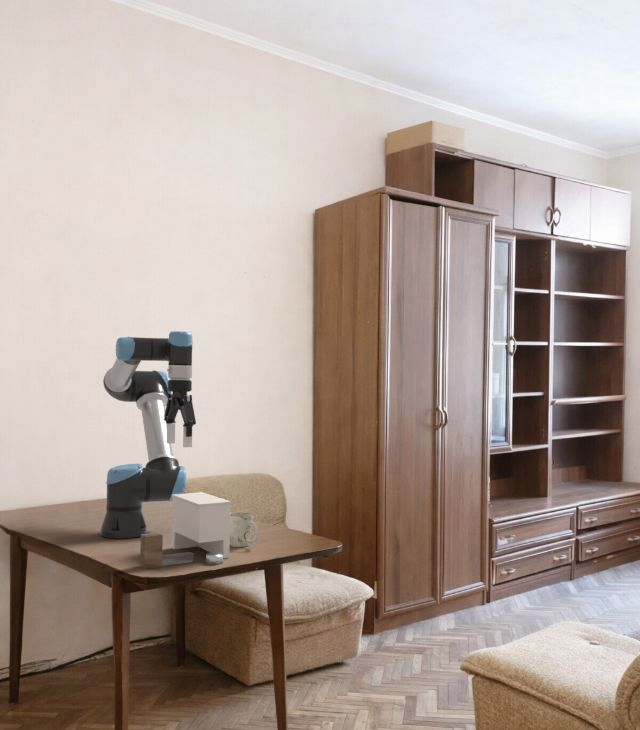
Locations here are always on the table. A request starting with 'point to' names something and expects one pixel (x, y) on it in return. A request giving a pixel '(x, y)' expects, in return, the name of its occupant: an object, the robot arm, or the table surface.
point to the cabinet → (201, 522)
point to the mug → (242, 529)
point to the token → (214, 558)
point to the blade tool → (159, 553)
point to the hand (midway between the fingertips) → (178, 445)
